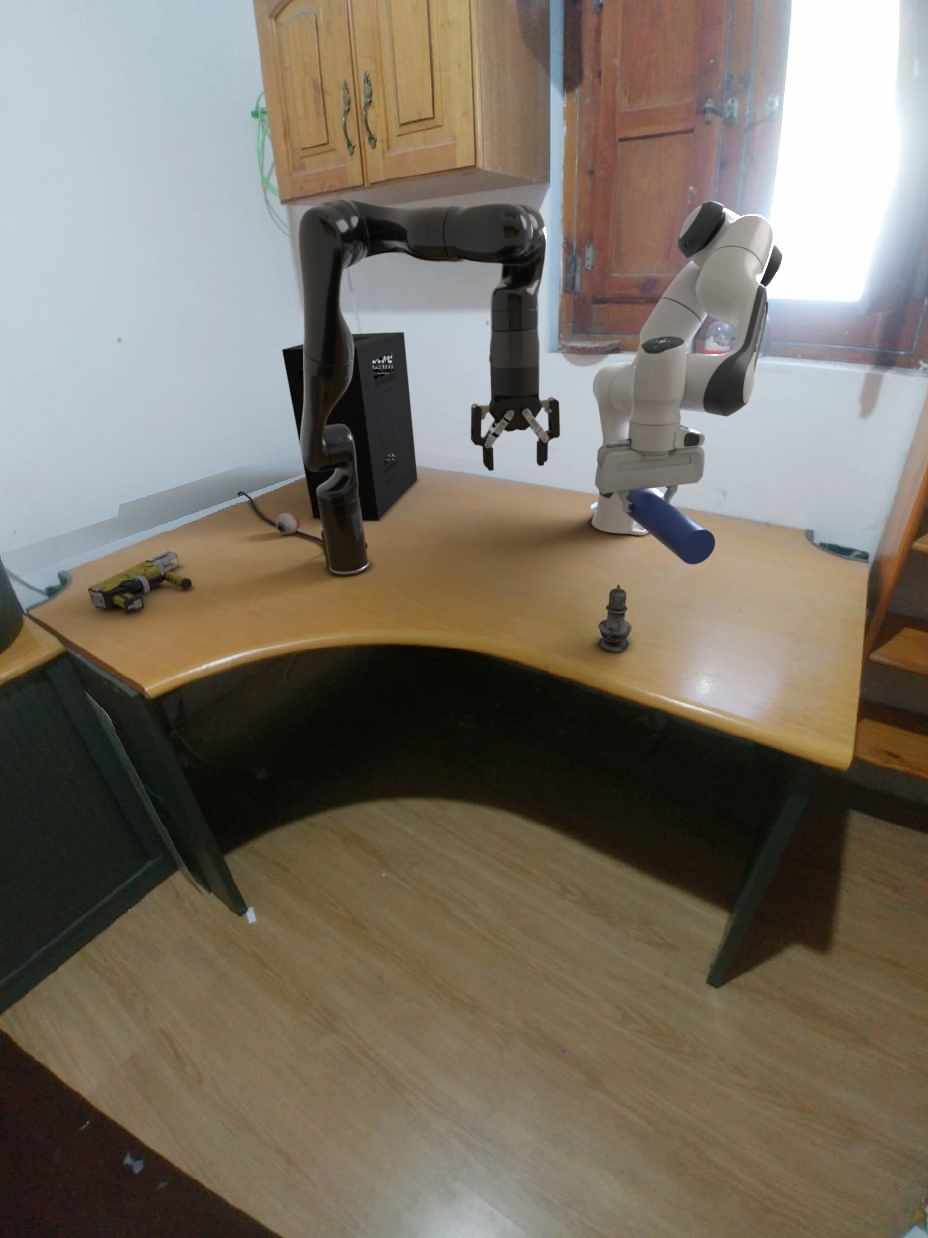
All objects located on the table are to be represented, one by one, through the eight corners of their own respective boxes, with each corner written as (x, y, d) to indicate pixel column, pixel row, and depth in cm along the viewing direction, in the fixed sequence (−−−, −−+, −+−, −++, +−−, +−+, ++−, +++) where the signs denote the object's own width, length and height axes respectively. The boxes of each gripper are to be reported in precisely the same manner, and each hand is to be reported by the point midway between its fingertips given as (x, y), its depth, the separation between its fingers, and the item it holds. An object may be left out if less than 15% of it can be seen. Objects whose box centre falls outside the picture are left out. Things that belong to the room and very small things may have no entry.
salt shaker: (630, 653, 106) (637, 593, 100) (596, 651, 107) (601, 591, 101) (629, 636, 111) (635, 577, 105) (597, 634, 112) (601, 576, 106)
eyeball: (273, 537, 164) (268, 516, 161) (287, 528, 169) (282, 508, 166) (291, 539, 161) (286, 518, 158) (305, 530, 166) (301, 510, 163)
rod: (622, 518, 120) (624, 488, 117) (651, 515, 121) (654, 485, 118) (677, 566, 100) (682, 532, 97) (712, 562, 101) (718, 527, 98)
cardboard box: (378, 519, 171) (356, 347, 149) (313, 517, 176) (282, 349, 153) (417, 479, 203) (403, 331, 180) (361, 478, 207) (341, 334, 185)
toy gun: (215, 559, 144) (165, 548, 148) (137, 602, 124) (81, 588, 128) (218, 577, 147) (168, 566, 151) (142, 621, 127) (87, 607, 131)
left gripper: (473, 368, 88) (477, 477, 96) (567, 361, 90) (563, 469, 98) (464, 362, 94) (469, 465, 102) (552, 355, 96) (550, 457, 104)
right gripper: (604, 446, 105) (600, 521, 112) (713, 435, 108) (702, 508, 115) (591, 438, 111) (588, 509, 118) (695, 427, 113) (686, 498, 120)
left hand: (515, 467), depth 100 cm, fingers open, 8 cm apart
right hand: (645, 509), depth 116 cm, fingers closed on rod, 6 cm apart
